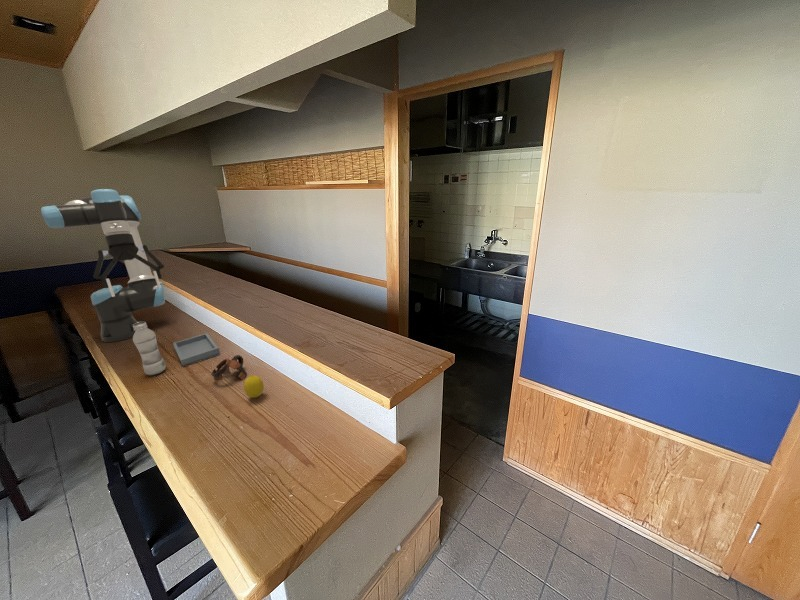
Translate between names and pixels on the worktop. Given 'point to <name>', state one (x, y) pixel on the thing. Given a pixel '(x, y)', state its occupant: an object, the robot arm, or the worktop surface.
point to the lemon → (253, 386)
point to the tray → (196, 349)
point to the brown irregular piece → (224, 367)
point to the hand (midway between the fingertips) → (137, 292)
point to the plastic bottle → (148, 349)
